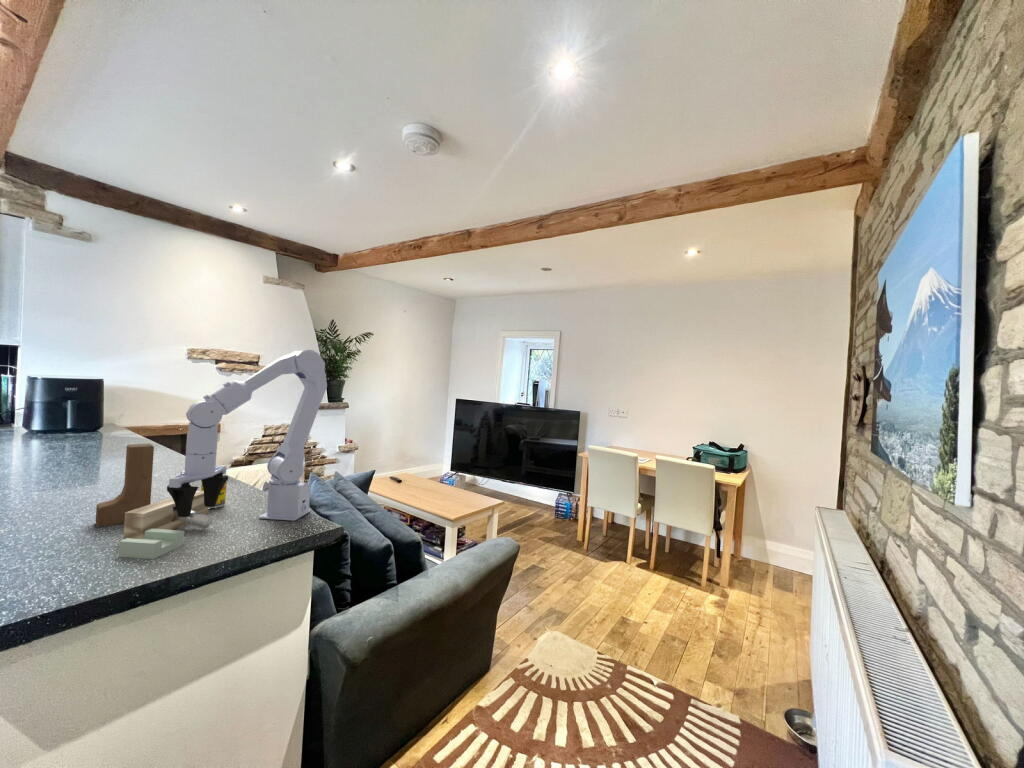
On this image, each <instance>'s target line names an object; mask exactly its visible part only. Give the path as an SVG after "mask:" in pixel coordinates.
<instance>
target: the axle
mask: <svg viewBox="0 0 1024 768" xmlns="http://www.w3.org/2000/svg"><path fill="white" fill-rule="evenodd" d="M172 519H175V520H178V521H181V522H185V523H188V524H187V525H192V526H195V527H198V528H201V529H204V530H206V529H209V527H210V526H211V525H212V523H213V521H214V517H213V516H212V515H209V514H208V515H205V514H202V513H199V512H196V511H192V510H191V513H190V516H189V517H178V513H177V509H176V506H175V507H173V516H172Z"/></svg>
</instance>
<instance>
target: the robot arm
mask: <svg viewBox="0 0 1024 768" xmlns="http://www.w3.org/2000/svg"><path fill="white" fill-rule="evenodd" d="M325 367H326V363H325V360H324V359H323V358H322V356H321V355H320V353H319V352H317V351H315V350H313V349H305V350H293V351H291V352H290V353H288V354H286V355H283V356H281V357H279V358H277V359H275V360H274V361H273V362H271V363H269V364H268V365H267V366H265V367H263V368H261V369H260V370H258V371H257V372H256V373H254V374H252V375H251V376H250V377H248V378H247V379H245V380H243V381H239V380H233V381H231V382H230V381H226V382H223V384H222V385H223V386H222V387H221V388H220V389H218V390H216V391H215V392H213V393H211V394H209V395H208V394H206V395H204V396H202V397H203V399H204V400H200V401H196V402H194V403H192V404H191V405H189V408H188V409H187V412H185V416H186V419H187V420H188V426H187V434H186V447H185V462H184V470H181V471H180V474H177V475H176V476H173V477H169V479H168V485H167V486H166V491H167V492H168V493H169V495H170V496H171V498H173V500H174V503H175V505H176V509H177V513H178V517H189V516H190V513H191V509H192V502H193V498H194V495H195V493H196V491H198V489H199V486H194V485H193V486H192V484H191V483H195V482H199V481H201V485H202V484H203V489H204V505H205V506H206V507H214V506H215V505H216V502H217V499H218V497H219V494H220V492H221V490H222V488H223V486H224V484H225V483H226V481H227V482H228V481H229V475H225V474H227V470H228V469H227V467H228V466H227V465H217V453H218V452H217V450H218V438H219V436H218V435H219V433H218V426H219V424H220V422H221V420H222V419H223V416H227V415H228V414H230V413H231V412H233V411H235V410H236V409H238V408H239V407H241V406H242V405H245V404H246V403H247V402H249V401H251V399H252V395H253V392H255V391H256V390H258V389H260V388H261V387H263V386H265V385H266V384H269V383H270V382H272V381H273V380H276V379H277V378H279V377H280V376H283V375H290V374H291V375H292V374H294V375H296V376H297V377H298V379H299V380H300V382H301V384H302V385H303V387H304V388H303V391H302V393H301V395H300V399H299V402H298V404H297V406H296V409H295V411H294V415H293V417H292V420H291V421H290V425H289V427H288V430H287V431H286V434H285V437H284V440H283V442H282V443H281V445H279V446H278V448H277V449H276V452H275V454H274V455H273V456H272V457H270V459H269V460H268V461H267V466H266V468H267V471H268V473H269V474H271V475H270V478H269V480H268V485H267V487H268V489H267V504H266V506H267V507H266V512H265V513H262V514H261V515H258V519H261V520H262V519H264V520H266V519H267V520H277V521H291V522H292V521H296V520H298V519H300V518H301V517H303V516H305V515H306V514H309V513H310V512H311V509H310V499H311V497H310V496H311V487H310V484H309V483H308V482H307V483H306V482H303V481H301V478H302V476H303V473H304V460H305V458H306V455H305V446H306V443H307V441H308V438H309V435H310V433H311V430H312V428H313V425H314V422H315V419H316V417H317V414H318V411H319V409H320V406H321V404H322V401H323V399H324V396H325V393H326V390H327V388H328V383H327V376H326V371H325ZM223 474H224V475H223Z"/></svg>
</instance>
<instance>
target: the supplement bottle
mask: <svg viewBox="0 0 1024 768" xmlns="http://www.w3.org/2000/svg"><path fill="white" fill-rule="evenodd" d="M223 475H225V474H223ZM227 483H228V480H227V481H226V483H225V484H224V486H223V488H222V490H221V492H220V494H219V497H218V499H217V502H216V505H215V506H214V507H208V508H215V509H217V508H216V507H220V506H222V507H224V506H225V505H226V499H227V497H226V496H227ZM200 487H201V489H200V491H204V489H203V484H202V483H201V486H200ZM223 505H224V506H223ZM220 508H221V507H220Z"/></svg>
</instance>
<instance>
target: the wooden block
mask: <svg viewBox="0 0 1024 768" xmlns="http://www.w3.org/2000/svg"><path fill="white" fill-rule="evenodd" d="M154 450H155V446H154V445H153V444H151V443H136V444H135V443H132V444H128V445H126V450H125V451H126V452H125V467H124V468H125V469H124V470H125V471H124V482H123V483H124V484H123V487H122V490H121V493H119V494H118V495H117V496H116V497H114V498H113V499H111V500H106V501H103V502H100V503H97V504H96V507H95V509H96V510H95V524H96V526H97V528H104V527H110V526H116V525H122V524H124V521H125V512H128V511H131V510H135V509H138V508H141V507H144V506H147V505H150V504H151V499H152V484H153V471H154V470H153V468H154V453H155V451H154Z"/></svg>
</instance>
